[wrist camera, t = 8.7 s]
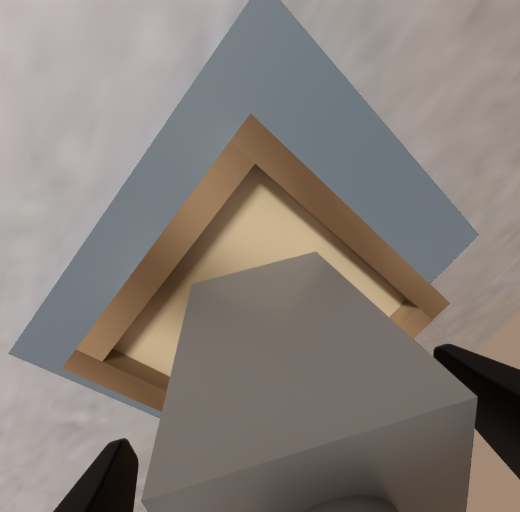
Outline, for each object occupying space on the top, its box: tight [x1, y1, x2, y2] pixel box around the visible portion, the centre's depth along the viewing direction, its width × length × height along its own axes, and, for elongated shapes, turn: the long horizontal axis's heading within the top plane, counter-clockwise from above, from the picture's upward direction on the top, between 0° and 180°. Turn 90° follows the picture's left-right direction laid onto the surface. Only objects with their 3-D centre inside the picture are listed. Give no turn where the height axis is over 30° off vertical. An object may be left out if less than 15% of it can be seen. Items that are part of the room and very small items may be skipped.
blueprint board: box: [8, 0, 479, 418], centre depth 14 cm, size 20×16×1 cm
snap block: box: [141, 252, 478, 512], centre depth 8 cm, size 5×5×8 cm
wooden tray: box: [62, 113, 450, 412], centre depth 12 cm, size 11×11×4 cm
